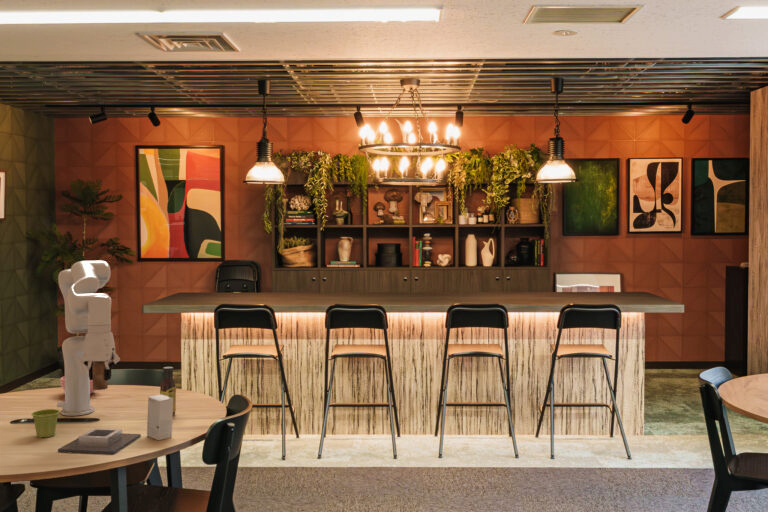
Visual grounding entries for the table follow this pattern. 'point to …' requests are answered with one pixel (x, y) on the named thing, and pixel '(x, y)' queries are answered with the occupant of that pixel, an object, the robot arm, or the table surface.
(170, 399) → the skincare box
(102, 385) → the peg
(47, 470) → the table surface
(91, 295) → the robot arm
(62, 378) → the cell model
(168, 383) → the sauce bottle
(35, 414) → the plant pot
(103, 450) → the socket
